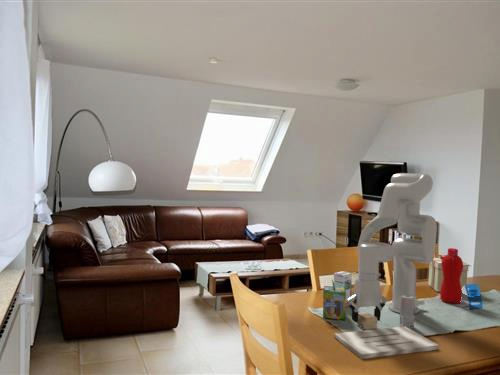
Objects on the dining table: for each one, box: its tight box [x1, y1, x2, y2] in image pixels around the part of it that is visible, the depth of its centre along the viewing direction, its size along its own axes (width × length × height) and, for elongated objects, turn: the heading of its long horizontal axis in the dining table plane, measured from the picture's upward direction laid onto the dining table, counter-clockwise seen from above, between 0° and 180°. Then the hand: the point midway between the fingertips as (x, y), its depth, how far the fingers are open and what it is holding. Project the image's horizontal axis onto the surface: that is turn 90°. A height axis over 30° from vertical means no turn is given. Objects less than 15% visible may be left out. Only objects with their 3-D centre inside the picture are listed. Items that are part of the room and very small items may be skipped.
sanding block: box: [356, 311, 378, 331], centre depth 166 cm, size 7×4×5 cm, turn 18°
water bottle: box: [439, 247, 463, 304], centre depth 201 cm, size 9×11×25 cm
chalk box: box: [322, 279, 347, 321], centre depth 178 cm, size 9×9×15 cm
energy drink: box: [398, 295, 415, 330], centre depth 167 cm, size 5×5×12 cm
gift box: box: [427, 254, 471, 293], centre depth 223 cm, size 17×18×17 cm
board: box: [334, 326, 440, 360], centre depth 151 cm, size 30×18×2 cm, turn 107°
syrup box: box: [333, 270, 353, 307], centre depth 194 cm, size 6×6×14 cm
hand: (366, 320), depth 165 cm, fingers open, 9 cm apart
